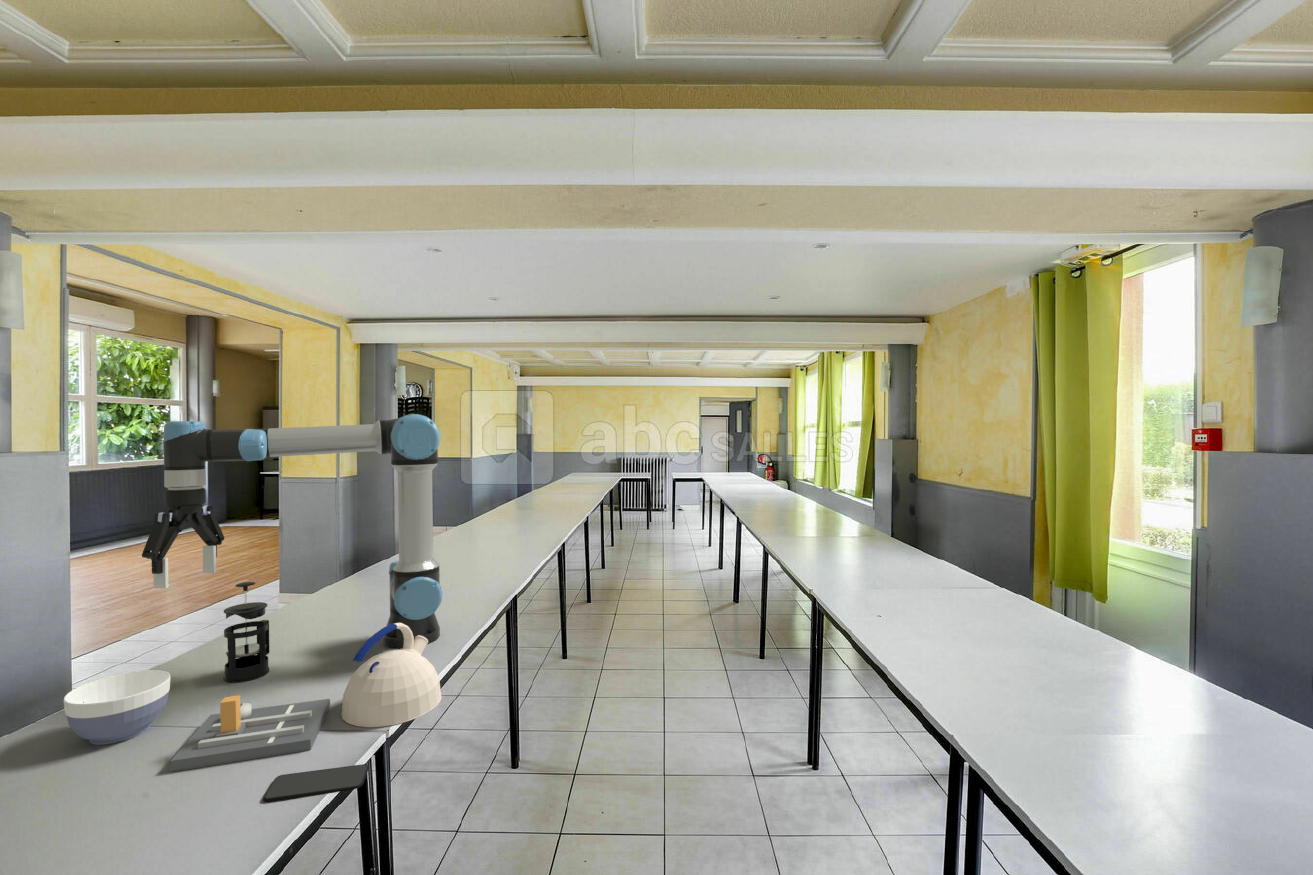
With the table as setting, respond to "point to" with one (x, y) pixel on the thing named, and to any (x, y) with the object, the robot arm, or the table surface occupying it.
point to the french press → (246, 661)
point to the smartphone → (316, 782)
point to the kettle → (391, 683)
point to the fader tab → (230, 717)
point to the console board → (254, 735)
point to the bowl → (117, 705)
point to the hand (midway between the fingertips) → (186, 579)
